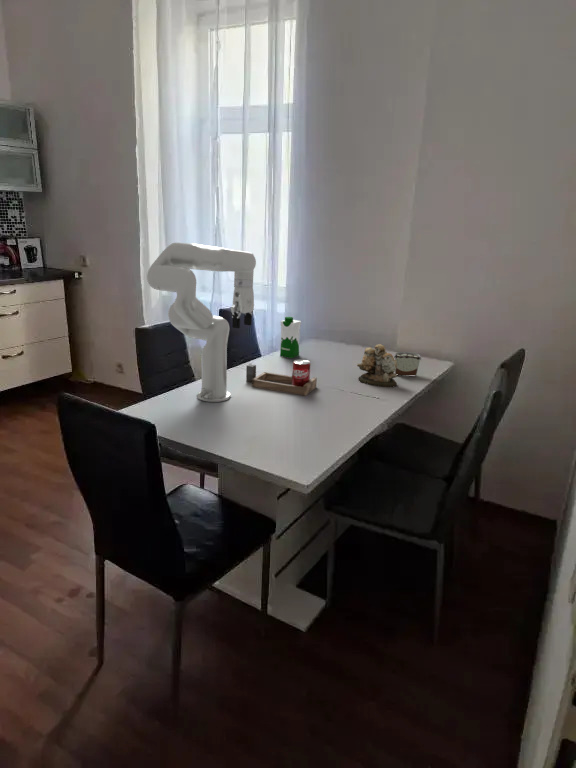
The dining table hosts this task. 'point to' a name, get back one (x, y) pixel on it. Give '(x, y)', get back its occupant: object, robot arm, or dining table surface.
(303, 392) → the wooden tray frame
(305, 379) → the soda can
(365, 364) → the owl figurine
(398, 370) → the food container
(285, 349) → the milk carton
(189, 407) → the dining table surface
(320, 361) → the dining table surface
